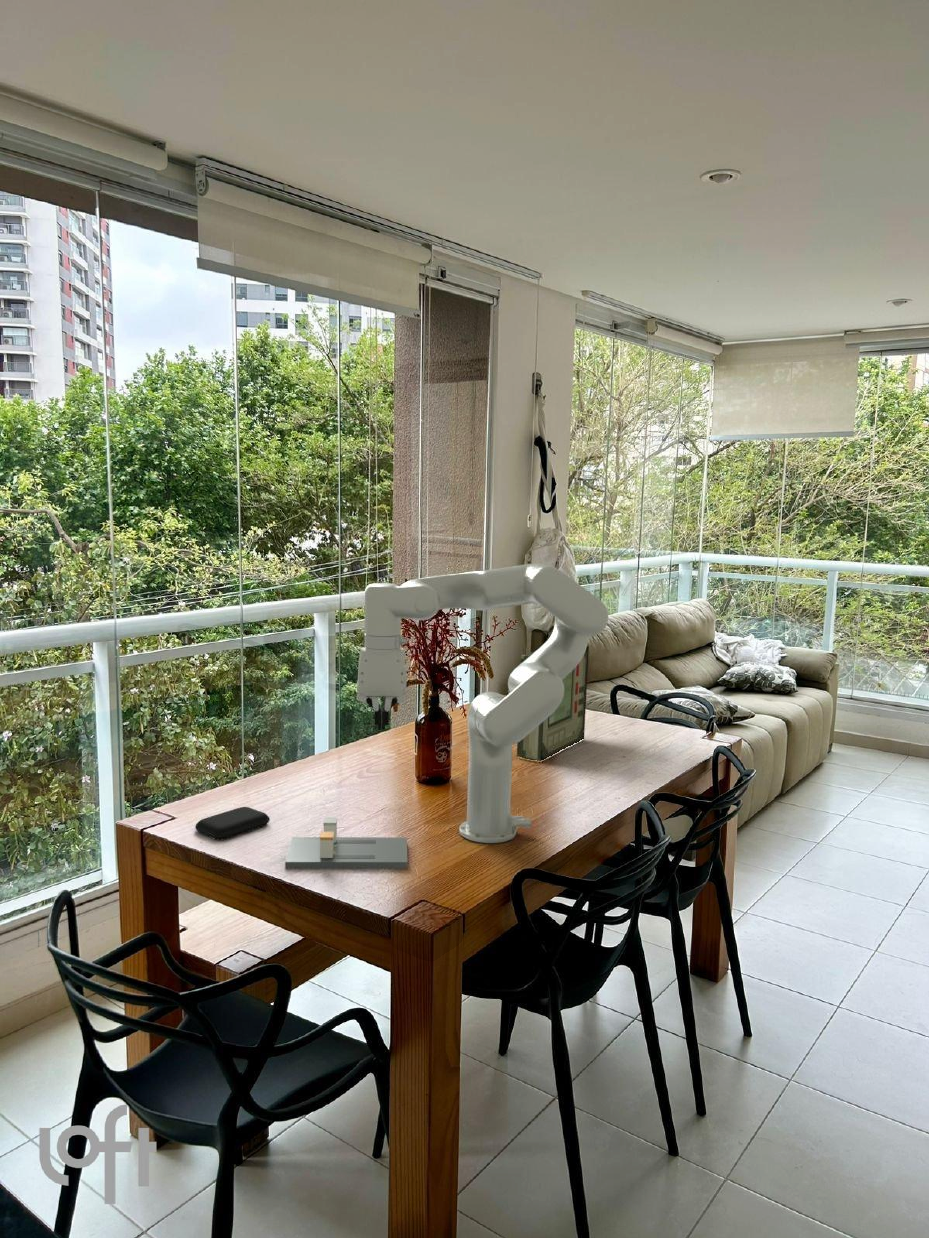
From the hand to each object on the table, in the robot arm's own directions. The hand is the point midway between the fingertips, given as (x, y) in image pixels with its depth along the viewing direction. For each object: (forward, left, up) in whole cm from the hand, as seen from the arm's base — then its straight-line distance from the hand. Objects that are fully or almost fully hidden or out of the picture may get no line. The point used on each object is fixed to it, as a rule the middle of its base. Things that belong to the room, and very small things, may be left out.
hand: (381, 728), depth 191 cm
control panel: (-50, -72, -25) cm, 91 cm away
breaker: (+10, +5, -23) cm, 25 cm away
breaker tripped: (+10, +13, -23) cm, 28 cm away
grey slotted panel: (+6, +9, -25) cm, 27 cm away
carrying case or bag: (+33, -7, -25) cm, 42 cm away
